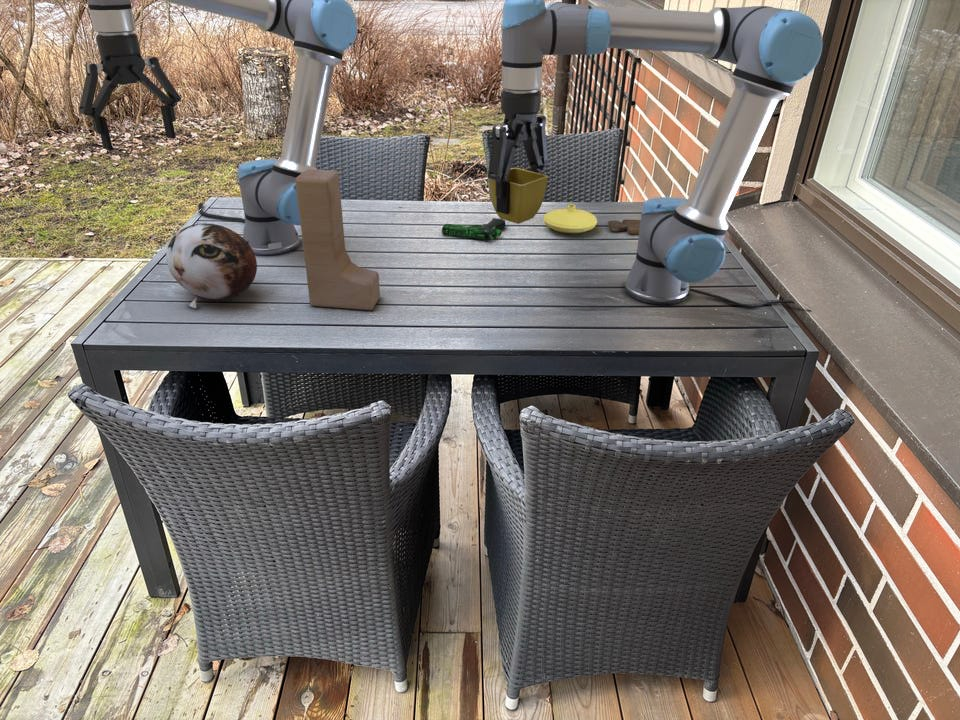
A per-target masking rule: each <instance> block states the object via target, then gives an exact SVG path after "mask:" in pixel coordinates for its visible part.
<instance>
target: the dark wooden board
mask: <svg viewBox="0 0 960 720" xmlns="http://www.w3.org/2000/svg"><path fill="white" fill-rule="evenodd" d="M640 223H641V219H623V220H622V222H621V221H619V220H615V219H614V220H608V221H607V224H608V229H609V231H610V232H613V233H615V232H616V233H617V232H623V231H627V234H629V235H639V231H640Z"/></svg>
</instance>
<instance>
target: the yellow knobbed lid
mask: <svg viewBox="0 0 960 720" xmlns="http://www.w3.org/2000/svg"><path fill="white" fill-rule="evenodd" d="M543 222H544V225H545V226H546V227H548V228H550V229H551V230H554V231H556V232H559V233H564V234H580V233H584V232H585V233H586V232H587V231H591V230H592V229H594V228H596V226H597V223H598V219H597V217H596V215H595V214H593V213H591V212H589V211H587V210H584V209H578V208H576V205H575V204H571V203H570V204H567V208H557V209H552V210H549V211H548V212H547V213H545V214H544V216H543Z"/></svg>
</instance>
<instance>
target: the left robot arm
mask: <svg viewBox="0 0 960 720" xmlns="http://www.w3.org/2000/svg"><path fill="white" fill-rule="evenodd" d="M161 1H162V2H166V3H170V4H174V5H177V6H182V7H186V8H191V9H195V10H198V11H202V12H206V13H210V14H213V15H218V16H223V17H226V18H231V19H235V20H238V21H243V22H247V23H251V24H254V25H256V27H257V28H258V29H259V30H261V31H264V32H268V33H272V34H275V35H277V36H280V37H282V38H285V39H287V40H290V41H292V42H293V46H292V49H293V50H294V52H295V53H296V55H297V63H296V67H295V74H294V78H293V79H294V81H293V84H292V86H293V87H292V91H291V97H290V102H289V109H288V114H287V120H286V126H285V131H284V138H283V142H282V143H283V144H282V149H281V155H280V158H265V159H256V160H252V161H251V160H250V161H247V162H243V163H241V164H240V165H239V166H238V168H237V180H238V184H239V190H240V196H241V202H242V203H241V204H242V208H243V212H244V213H243V215H244V218H243V217H238V216H237V217H236V216H226V215H219V214H213V213H208V212H205V211H203V210H202V209H203V205H204V204H203V203H202V202H199V203H198V206H197V211H198V213H199V214H200V215H202V216H204V217H208V218H213V219H219V220H225V221H236V222H241V223H244V226H243V228H244V229H243V235H242V237H243V238H244V239H245V240H246V241H249V242H248V244H249V245H250V247H251V248H252V250H253V252H254V254H255V256H256V255H257V256H275V255H281V254H282V255H283V254H285V253H289V252H291V251H293V250H296V249H297V248H298V247H299V246H300V244H301V241H300V235H299V233H298V231H297V229H296V227H295V226H299V227H301V224H300V216H299V207H298V199H297V191H296V182H295V179H296V178H297V177H298V176H299V175H300V174H301V173H303V172H304V171H305V170H307V169H315V170H318V168H317V162H318V157H319V152H320V146H321V140H322V134H323V129H324V124H325V118H326V113H327V108H328V103H329V98H330V92H331V87H332V82H333V75H334V71H335V67H336V66H338V65H339V64H341V63H342V62H343V58H344V52H345V51H346V50H348V49H350V47H351V46H353V44H355V41H356V39H357V36H358V19H357V17H356V13H355V12H354V10H353V8H352V6H351V5H350V3H349V2H348V1H347V0H161ZM86 2H87V6H88V12H89V16H90V19H91V24H92V28H93V31H94V32H95V33H97V34H96V36H95V40H96V41H95V42H96V45H97V49H98V54H99V56H100V62H99V63H96V62H95V63H93V62H89V61H87V62H85V64H84V68H85V69H84V70H85V73H86V74H85V79H84V83H83V88H82V93H81V98H80V103H79V108H78V113H79V114H81V115H83V116H87V117H90V118H91V123H92V127H93V130H94V132H95V133H96V134H98V135H99V136H100V140H101V143H102V148H103V149H104V150H107V151H109V152H111V151H114V146H113V143H112V138H111V134H110V130H109V127H108V122H107V119H106V118H107V117H106V116H103V115H102V114H103V112H104V110H105V108H106V106H107V104H108V103H109V101H110V98H111V96H112V94H113V92H114V90H115V89H116V88H117V87H118V85H121V86H124V85H128V84H138V83H140V84H141V85H142V86H143V87H144V88H146V89H147V90H148V91H149V93H151V94H152V95H153V96H154V97H155V98H156V99H157V100H158V101H160V102H161V103H162V104H163V105H159V107H160V112H161V118H162V123H163V127H164V132H165V136H166V138H168V139H171V140H175V139H177V135H176V130H175V126H174V122H176V120H177V118H176V112H175V107H176V106H177V103H180V102H181V101H182V97H181V96H180V94H179V93H178V91H177V90H176V89H175V87H174V85H173V84H172V82H171V81H170V80H169V78H168V76H167V75H166V73H165V72H164V71H163V69H162V68H161V65H160V61H159V58H158V57H156V56H152V55H147V57H145V58H143V56H142V51H141V46H140V41H139V36H138V35H137V33H135V31H136V30H137V27H136V22H135V18H134V13H133V8H132V4H131V0H86ZM145 67H147V69H149V70H150V71H151V73H152V75H153V76H154V77H155V79H156V81H157V82H158V83H159V84H160V87H162V89H163V90H164V91H162V90H161V88H159V87H158V86H157V85H156V84H155V83H154V82H153V81H152V80H151V79H150V78H149V77H148V75H146V74H145V73H144V70H145ZM101 71H102V72H103V73H104V74H105V76H104V78H103V80H102V85H101V87H100V89H99V91H98V93H97V95H96V91H97V85H98V82H99V75H101ZM95 95H96V97H95ZM201 208H202V209H201ZM200 209H201V210H200ZM199 210H200V211H199Z"/></svg>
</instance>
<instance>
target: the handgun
mask: <svg viewBox="0 0 960 720" xmlns="http://www.w3.org/2000/svg"><path fill="white" fill-rule="evenodd" d="M505 228H506V220H504V219H501V218H497V217H492V219H491V220H490V221H489V222H488V223H483V224H482V225H479V224H472V225H459V224H453V223H445V224H443V226H442V227H441V235H446V236H454V237H462V238H469V239H470V238H471V239H474V240H479V241H484V242H491V241H492V240H494V239H495V238H497V237H500V236H502V230H504V229H505Z"/></svg>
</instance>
